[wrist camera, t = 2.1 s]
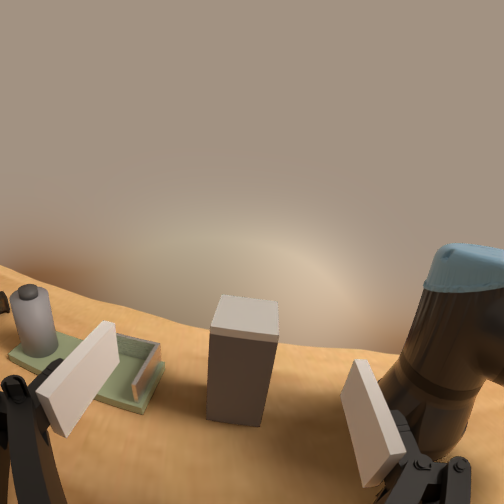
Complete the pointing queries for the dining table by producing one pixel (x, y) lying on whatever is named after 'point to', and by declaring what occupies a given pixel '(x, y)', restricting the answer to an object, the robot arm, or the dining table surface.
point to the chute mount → (142, 351)
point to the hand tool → (4, 303)
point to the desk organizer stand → (69, 349)
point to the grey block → (241, 359)
